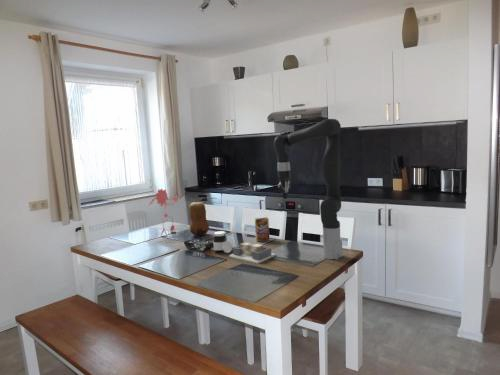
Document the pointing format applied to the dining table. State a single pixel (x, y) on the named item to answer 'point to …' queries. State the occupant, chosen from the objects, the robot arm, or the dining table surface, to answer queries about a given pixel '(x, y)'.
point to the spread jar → (221, 242)
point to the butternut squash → (198, 219)
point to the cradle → (256, 256)
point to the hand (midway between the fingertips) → (285, 198)
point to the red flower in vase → (162, 198)
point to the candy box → (262, 229)
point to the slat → (250, 248)
